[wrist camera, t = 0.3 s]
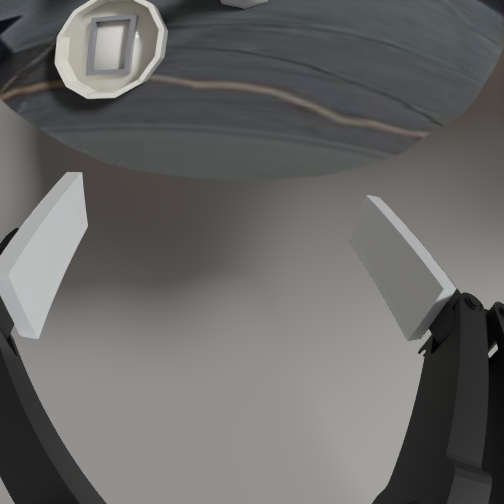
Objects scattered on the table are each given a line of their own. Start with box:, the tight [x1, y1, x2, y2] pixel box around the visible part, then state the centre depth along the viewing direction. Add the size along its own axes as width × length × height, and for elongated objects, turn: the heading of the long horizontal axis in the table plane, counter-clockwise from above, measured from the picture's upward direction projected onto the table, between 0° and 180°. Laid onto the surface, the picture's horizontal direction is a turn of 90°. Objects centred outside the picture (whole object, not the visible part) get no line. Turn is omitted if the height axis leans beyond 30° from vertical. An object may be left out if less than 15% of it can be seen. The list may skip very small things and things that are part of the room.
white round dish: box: [55, 0, 168, 99], centre depth 26 cm, size 13×13×4 cm
